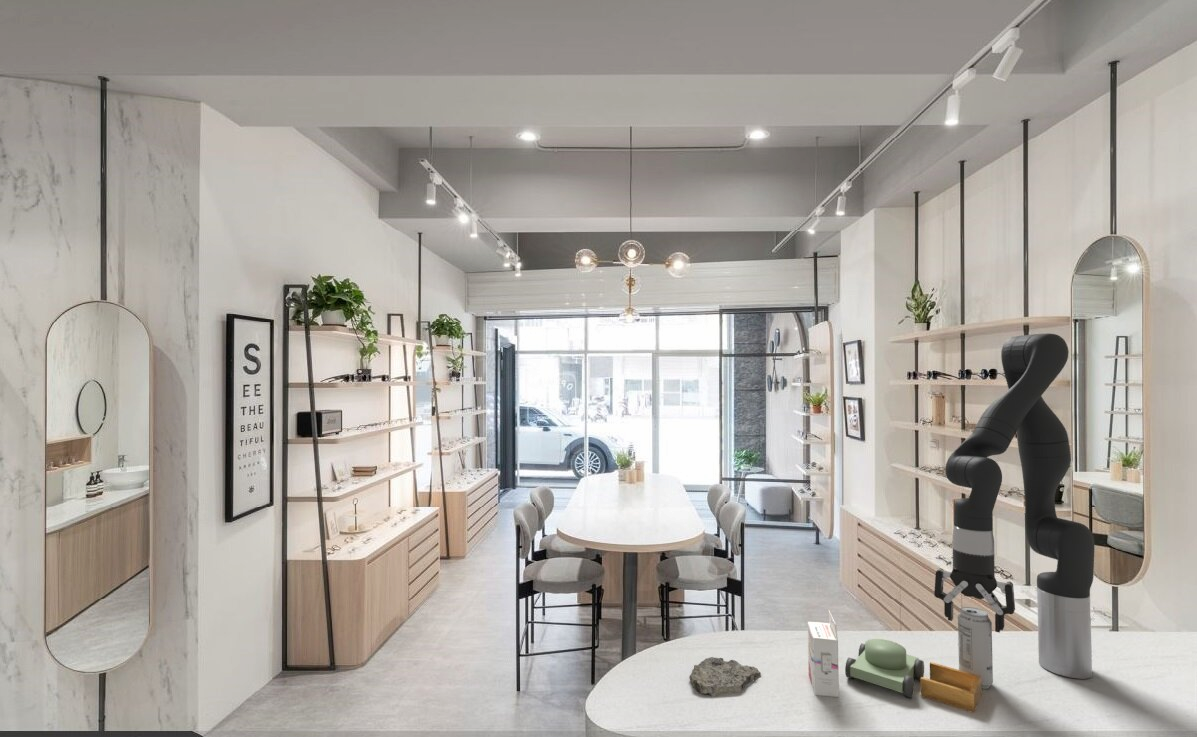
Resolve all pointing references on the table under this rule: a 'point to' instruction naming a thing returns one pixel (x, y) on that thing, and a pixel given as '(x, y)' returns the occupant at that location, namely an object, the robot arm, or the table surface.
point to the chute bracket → (952, 687)
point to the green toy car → (886, 666)
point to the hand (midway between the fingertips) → (973, 625)
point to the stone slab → (721, 676)
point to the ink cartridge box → (823, 657)
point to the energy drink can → (975, 644)
